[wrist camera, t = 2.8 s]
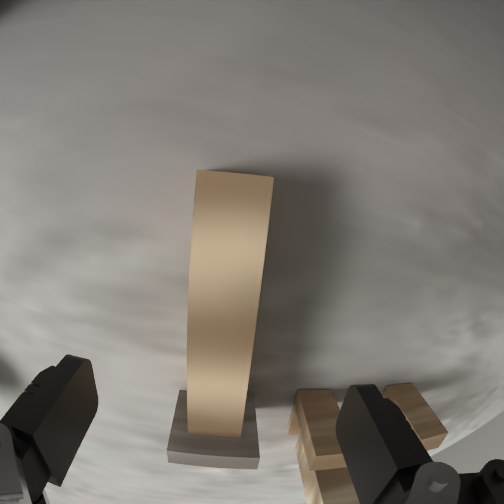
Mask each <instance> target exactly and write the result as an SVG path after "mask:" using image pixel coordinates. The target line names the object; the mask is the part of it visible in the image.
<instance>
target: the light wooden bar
mask: <svg viewBox="0 0 504 504" xmlns="http://www.w3.org/2000/svg"><path fill="white" fill-rule="evenodd" d="M273 182H274V177H270V176H262V175H253V174H243V173H233V172H222V171H210V170H197V174H196V185H195V197H194V209H193V222H192V236H191V252H190V271H189V293H188V325H187V391H182V390H180V391H179V395H178V400H177V404H176V409H175V414H174V418H173V423H172V428H171V433H170V437H169V442H168V447H167V456H168V462H170V463H178V464H185V465H194V466H204V467H216V468H233V469H257V468H258V463H259V459H260V455H259V444H258V433H257V422H256V411H255V400H254V396H247V389H248V381H249V374H250V367H251V359H252V352H253V344H254V337H255V329H256V321H257V314H258V306H259V298H260V290H261V282H262V274H263V266H264V258H265V250H266V241H267V233H268V225H269V216H270V208H271V200H272V191H273Z"/></svg>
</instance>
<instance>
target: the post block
mask: <svg viewBox="0 0 504 504" xmlns="http://www.w3.org/2000/svg"><path fill="white" fill-rule="evenodd" d="M382 396H383V398H388V399H390V400H391V401H392V402H394V403H395V404H396V405H397V406H399V407H400V409H401V411H402V412H403V414H404V415H405V417H406V420H408V422H409V423H410V425H411V426H412V429H413V430H414V431H415V433H416V434H417V436H418V438H419V439H420V441H421V443H422V444H423V446H424V447H425V449H426V451H428V450H431V449H435V448H438V447H439V446H440V444H441V443H442V441H443V440H444V438H445V437H446V435H447V434H448V431H447V430H446V429H445V427H444V426H443V424H442V423H441V422H440V420H439V419H438V417H437V416H436V415H435V413H434V412H433V411H432V409H431V408H430V406H429V405H428V404H427V402H426V401H425V400H424V398H423V397H422V396H421V394H420V393H419V392H418V390H417V389H416V388H415V386H414V385H413V384H412V383H406V384H397V385H387V386H386V388H385V390H384V393H383V395H382ZM339 412H340V409H339V407H338V405H337V402H336V400H335V397H334V395H333V392H332V390H331V389H316V390H297V394H296V398H295V402H294V406H293V410H292V414H291V417H290V421H289V425H288V428H287V430H288V435H296V434H300V437H299V440H298V443H297V446H296V454H297V458H298V463H299V468H300V472H301V477H302V482H303V487H304V491H305V496H306V501H307V504H360V503H359V500H358V497H357V494H356V491H355V488H354V485H353V483H352V480H351V477H350V474H349V471H348V468H347V465H346V462H345V460H344V457H343V454H342V451H341V448H340V445H339V443H338V440H337V437H336V421H337V418H338V415H339Z"/></svg>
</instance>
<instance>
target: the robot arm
mask: <svg viewBox="0 0 504 504" xmlns="http://www.w3.org/2000/svg"><path fill="white" fill-rule="evenodd" d="M97 408H98V394H97V390H96V385H95V379H94V374H93V368H92V364H91V361H90V360H89V359H85V358H81V357H77V356H73V355H69V354H68V355H66V356H65V357H64V358H63V359H62V360H61V361H60V362H59V364H58V365H57V366H56V367H55V366H50V367H49V368H47V369H45V370H43V371H42V372H40V373H39V374H38V375H37V376H36V377H35V378H34V380H33V381H32V382H31V385H30V384H29V386H28V387H27V388H26V389H25V392H24V393H22V394H21V395H20V396H19V398H18V399H17V400H16V401H15V403H14V404H13V405H12V406H11V408H10V409H9V410H8V411H7V413H6V414H5V415H4V416H3V418H2V419H1V420H0V504H50V503H49V500H48V498H47V495H46V492H45V490H44V488H45V486H46V484H47V482H50V483H52V484H54V485H57V486H59V487H61V484H62V482H63V480H64V478H65V476H66V474H67V471H68V469H69V467H70V465H71V463H72V461H73V459H74V457H75V455H76V453H77V450H78V448H79V446H80V444H81V442H82V440H83V438H84V436H85V434H86V432H87V430H88V428H89V426H90V424H91V422H92V420H93V418H94V417H95V414H96V412H97ZM336 437H337V440H338V443H339V445H340V448H341V451H342V454H343V457H344V460H345V462H346V465H347V468H348V471H349V474H350V477H351V480H352V483H353V485H354V488H355V491H356V494H357V497H358V500H359V503H360V504H504V460H500V459H495V460H491V461H489V462H488V463H487V464H486V465H485V466H484V467H483V468H482V470H481V471H480V472H479V473H466V474H458V473H457V472H456V470H455V469H454V468H453V467H451V466H450V465H447V464H445V463H442V462H433V460H432V459H431V457H430V456H429V454H428V452H427V451H426V449H425V447H424V446H423V444H422V443H421V441H420V439H419V438H418V436H417V434H416V433H415V431H414V430H413V429H412V426H411V425H410V423H409V422H408V420H406V417H405V415H404V414H403V412H402V411H401V409H400V407H399V406H397V405H396V404H395V403H394V402H392V401H391V400H390V399H388V398H383V396H382V395H381V393H380V391H379V390H378V388H377V387H376V385H374V384H365V385H351V386H350V387H349V389H348V391H347V393H346V396H345V399H344V402H343V404H342V407H341V410H340V412H339V415H338V418H337V421H336Z"/></svg>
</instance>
